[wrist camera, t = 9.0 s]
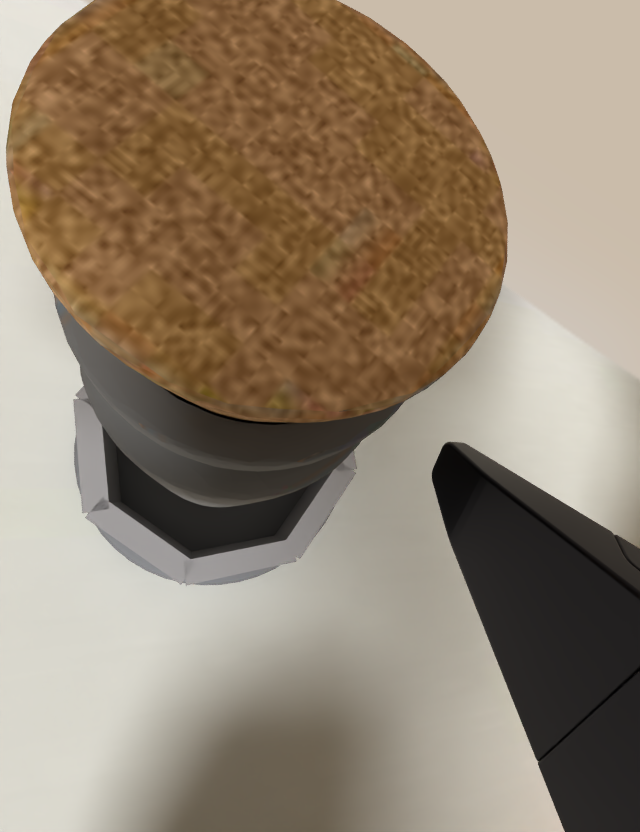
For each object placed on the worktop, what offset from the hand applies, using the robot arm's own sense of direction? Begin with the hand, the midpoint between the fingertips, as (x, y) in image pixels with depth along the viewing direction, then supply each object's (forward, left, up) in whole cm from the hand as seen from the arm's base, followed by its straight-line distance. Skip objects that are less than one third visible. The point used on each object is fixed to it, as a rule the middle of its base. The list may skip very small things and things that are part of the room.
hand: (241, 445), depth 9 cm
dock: (+1, 0, -11) cm, 11 cm away
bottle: (+2, 0, -10) cm, 10 cm away
